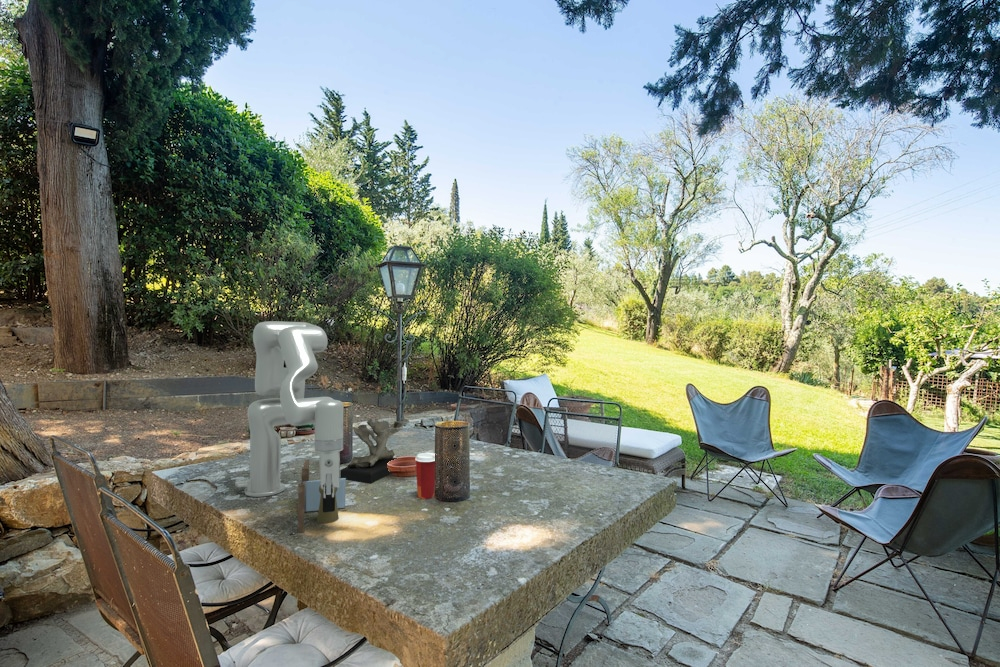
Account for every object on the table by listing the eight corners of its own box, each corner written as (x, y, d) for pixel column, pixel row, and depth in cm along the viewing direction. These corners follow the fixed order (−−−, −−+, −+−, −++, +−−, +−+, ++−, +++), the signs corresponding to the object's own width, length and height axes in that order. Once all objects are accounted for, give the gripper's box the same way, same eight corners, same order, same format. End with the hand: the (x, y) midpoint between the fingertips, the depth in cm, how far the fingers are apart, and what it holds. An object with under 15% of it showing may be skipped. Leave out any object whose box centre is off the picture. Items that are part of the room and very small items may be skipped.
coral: (379, 462, 202) (380, 411, 202) (421, 468, 194) (421, 415, 194) (338, 478, 179) (339, 421, 179) (383, 486, 171) (384, 427, 171)
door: (345, 507, 149) (345, 479, 149) (302, 511, 145) (302, 482, 145) (345, 506, 151) (345, 477, 150) (302, 510, 146) (302, 481, 146)
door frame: (296, 533, 131) (297, 486, 131) (303, 499, 157) (304, 459, 157) (304, 532, 132) (305, 485, 132) (310, 498, 158) (310, 459, 158)
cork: (320, 515, 144) (320, 479, 144) (340, 515, 145) (341, 478, 145) (314, 523, 138) (315, 485, 138) (336, 523, 139) (336, 485, 139)
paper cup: (441, 494, 164) (442, 453, 164) (429, 501, 157) (429, 459, 157) (422, 490, 167) (423, 451, 167) (409, 497, 160) (410, 456, 160)
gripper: (343, 449, 127) (343, 519, 127) (343, 438, 141) (342, 500, 141) (313, 452, 125) (313, 522, 124) (315, 440, 139) (315, 503, 139)
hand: (328, 510), depth 133 cm, fingers closed
